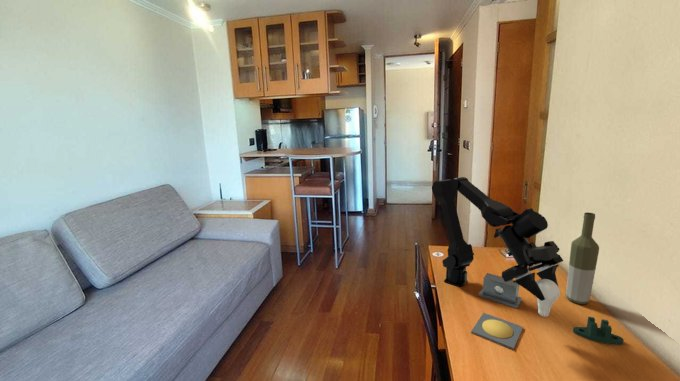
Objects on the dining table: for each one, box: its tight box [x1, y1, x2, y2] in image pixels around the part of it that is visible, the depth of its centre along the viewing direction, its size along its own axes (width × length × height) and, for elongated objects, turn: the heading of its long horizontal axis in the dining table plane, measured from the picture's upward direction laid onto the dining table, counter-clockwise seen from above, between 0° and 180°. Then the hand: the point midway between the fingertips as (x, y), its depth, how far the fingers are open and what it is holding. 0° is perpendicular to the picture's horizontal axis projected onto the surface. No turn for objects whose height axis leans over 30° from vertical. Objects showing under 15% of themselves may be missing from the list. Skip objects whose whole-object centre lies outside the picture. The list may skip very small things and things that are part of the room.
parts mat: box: [470, 312, 524, 351], centre depth 90 cm, size 11×11×1 cm
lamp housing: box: [478, 272, 523, 309], centre depth 105 cm, size 12×6×7 cm, turn 49°
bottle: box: [565, 211, 600, 305], centre depth 100 cm, size 7×7×30 cm
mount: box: [572, 316, 624, 346], centre depth 86 cm, size 11×4×5 cm, turn 62°
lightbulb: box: [535, 278, 561, 317], centre depth 86 cm, size 6×6×11 cm
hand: (550, 297), depth 84 cm, fingers closed on lightbulb, 6 cm apart
